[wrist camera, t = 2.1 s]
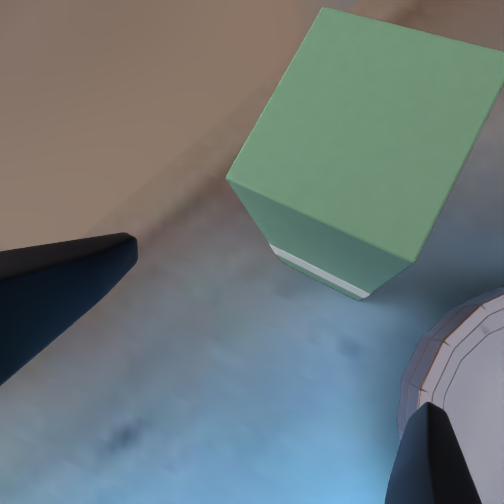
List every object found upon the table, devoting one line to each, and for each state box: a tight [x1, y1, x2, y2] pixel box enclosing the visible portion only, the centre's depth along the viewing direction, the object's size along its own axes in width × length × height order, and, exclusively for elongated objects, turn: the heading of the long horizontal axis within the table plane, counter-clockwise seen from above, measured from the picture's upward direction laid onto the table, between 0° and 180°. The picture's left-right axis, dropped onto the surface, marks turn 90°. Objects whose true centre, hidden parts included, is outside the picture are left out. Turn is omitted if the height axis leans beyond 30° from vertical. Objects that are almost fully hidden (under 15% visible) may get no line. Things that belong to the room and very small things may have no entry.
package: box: [226, 7, 504, 301], centre depth 15 cm, size 6×6×13 cm
